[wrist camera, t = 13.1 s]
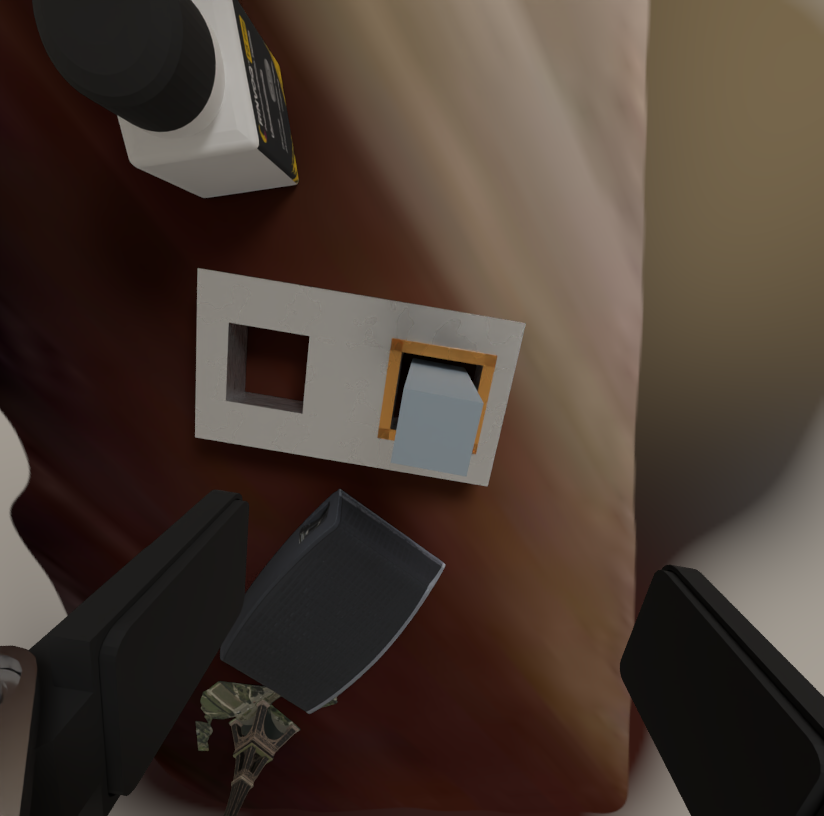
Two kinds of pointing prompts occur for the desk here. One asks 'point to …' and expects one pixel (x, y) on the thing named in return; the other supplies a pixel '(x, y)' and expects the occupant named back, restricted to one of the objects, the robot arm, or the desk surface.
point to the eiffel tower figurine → (246, 731)
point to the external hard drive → (329, 603)
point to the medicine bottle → (179, 87)
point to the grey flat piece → (340, 369)
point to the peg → (437, 418)
